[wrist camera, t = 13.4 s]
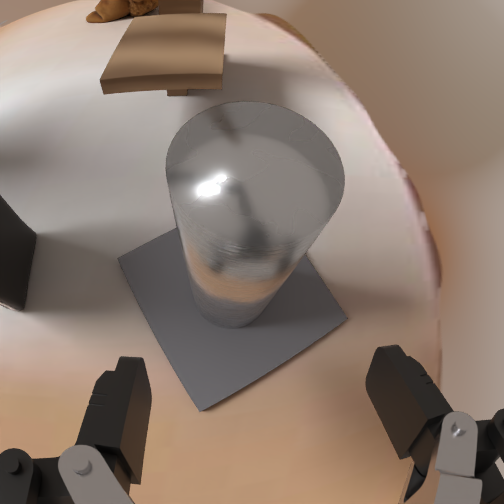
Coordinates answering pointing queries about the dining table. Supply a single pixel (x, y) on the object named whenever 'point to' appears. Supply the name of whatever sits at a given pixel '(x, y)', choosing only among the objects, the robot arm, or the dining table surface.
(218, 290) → the steel cylinder
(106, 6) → the stuffed squirrel
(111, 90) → the walnut standard
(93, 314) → the dining table surface
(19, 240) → the battery charger
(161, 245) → the felt pad
